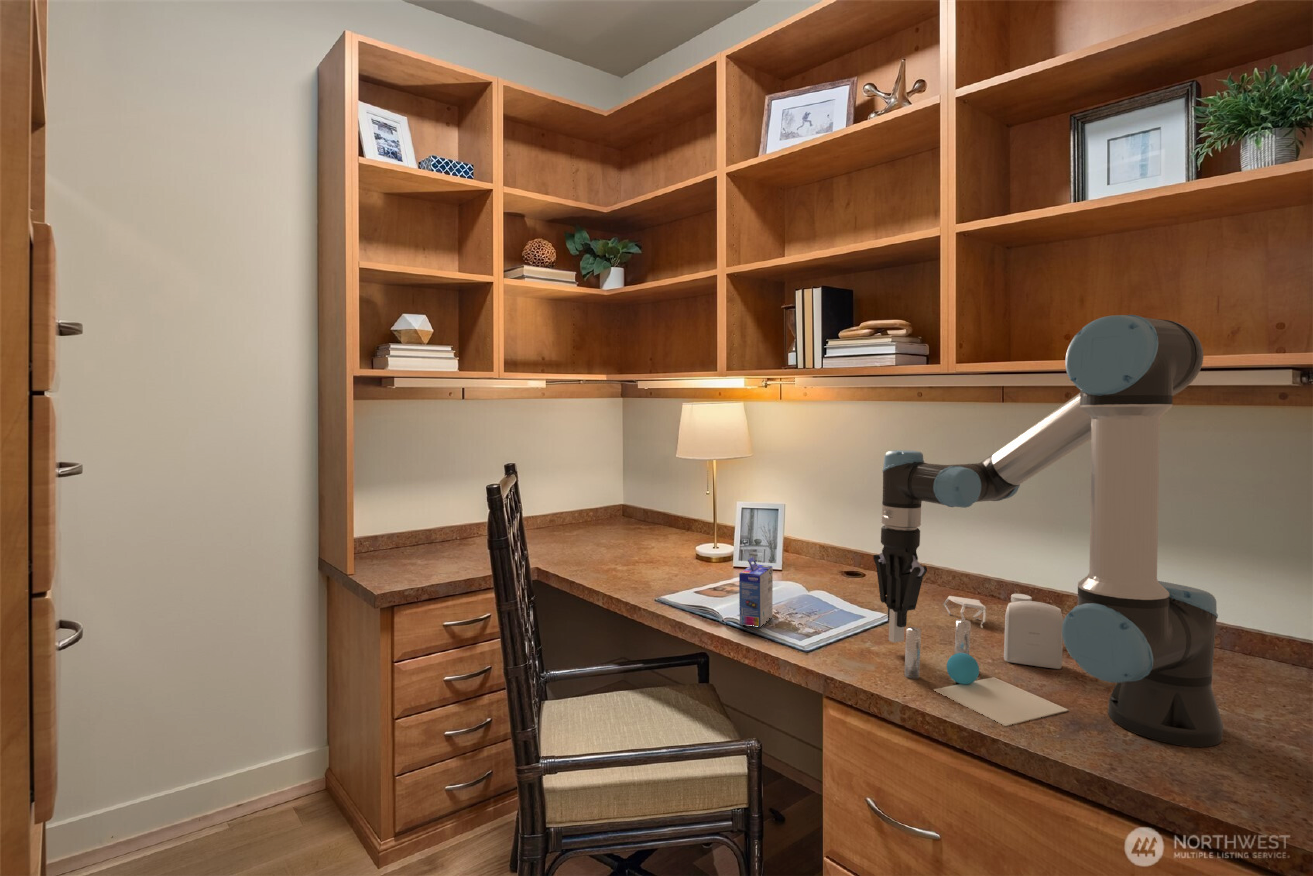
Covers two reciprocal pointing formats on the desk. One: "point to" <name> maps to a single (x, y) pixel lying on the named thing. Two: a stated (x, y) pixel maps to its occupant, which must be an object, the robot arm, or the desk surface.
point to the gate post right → (962, 636)
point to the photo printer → (1033, 634)
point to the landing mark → (1000, 701)
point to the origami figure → (968, 603)
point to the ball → (962, 668)
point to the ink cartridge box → (755, 594)
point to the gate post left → (912, 652)
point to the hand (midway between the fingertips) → (896, 640)
